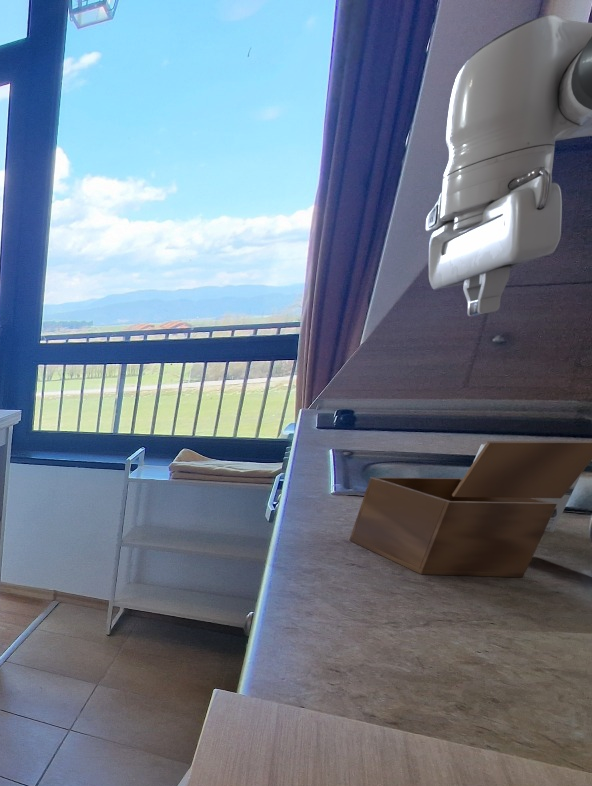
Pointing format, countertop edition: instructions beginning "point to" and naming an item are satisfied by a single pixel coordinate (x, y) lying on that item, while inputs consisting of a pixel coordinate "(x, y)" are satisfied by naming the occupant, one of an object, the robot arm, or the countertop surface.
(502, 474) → the flap
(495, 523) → the carton
